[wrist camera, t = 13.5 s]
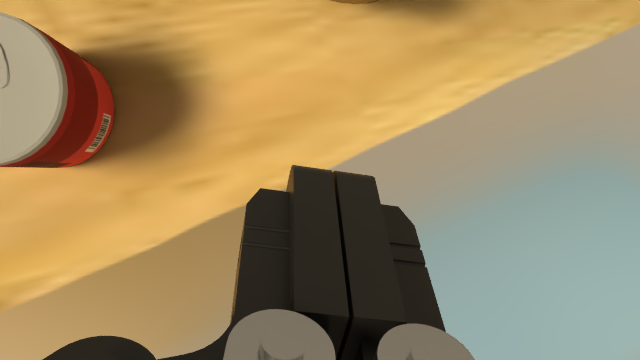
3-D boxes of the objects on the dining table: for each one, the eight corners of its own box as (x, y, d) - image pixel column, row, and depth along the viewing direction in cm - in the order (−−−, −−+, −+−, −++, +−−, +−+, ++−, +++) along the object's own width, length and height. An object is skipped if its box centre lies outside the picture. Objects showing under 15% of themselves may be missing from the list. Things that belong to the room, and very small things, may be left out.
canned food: (101, 43, 40) (41, -6, 29) (131, 153, 40) (82, 145, 29) (-9, 68, 39) (-114, 27, 28) (22, 180, 40) (-70, 182, 29)
